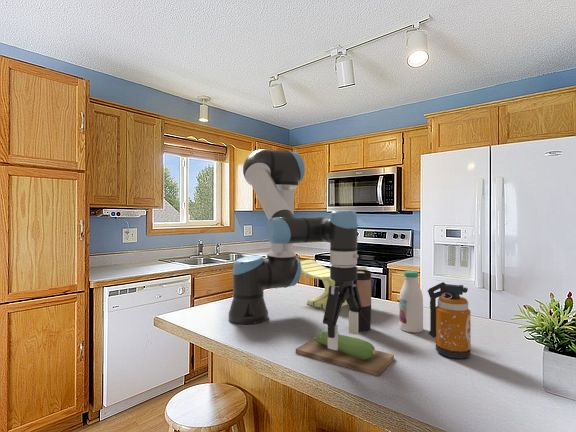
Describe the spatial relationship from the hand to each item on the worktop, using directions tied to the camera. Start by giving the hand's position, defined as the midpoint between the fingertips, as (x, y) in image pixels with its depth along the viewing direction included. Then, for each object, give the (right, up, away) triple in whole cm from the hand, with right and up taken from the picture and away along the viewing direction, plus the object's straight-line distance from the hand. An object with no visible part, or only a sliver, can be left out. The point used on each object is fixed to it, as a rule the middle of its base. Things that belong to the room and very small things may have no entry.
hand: (343, 341), depth 94 cm
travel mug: (+9, -4, +23) cm, 25 cm away
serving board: (0, -4, 0) cm, 4 cm away
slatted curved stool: (+3, -4, +55) cm, 55 cm away
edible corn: (0, -3, 0) cm, 3 cm away
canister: (+31, -4, +2) cm, 31 cm away
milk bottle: (+27, -4, +22) cm, 35 cm away
